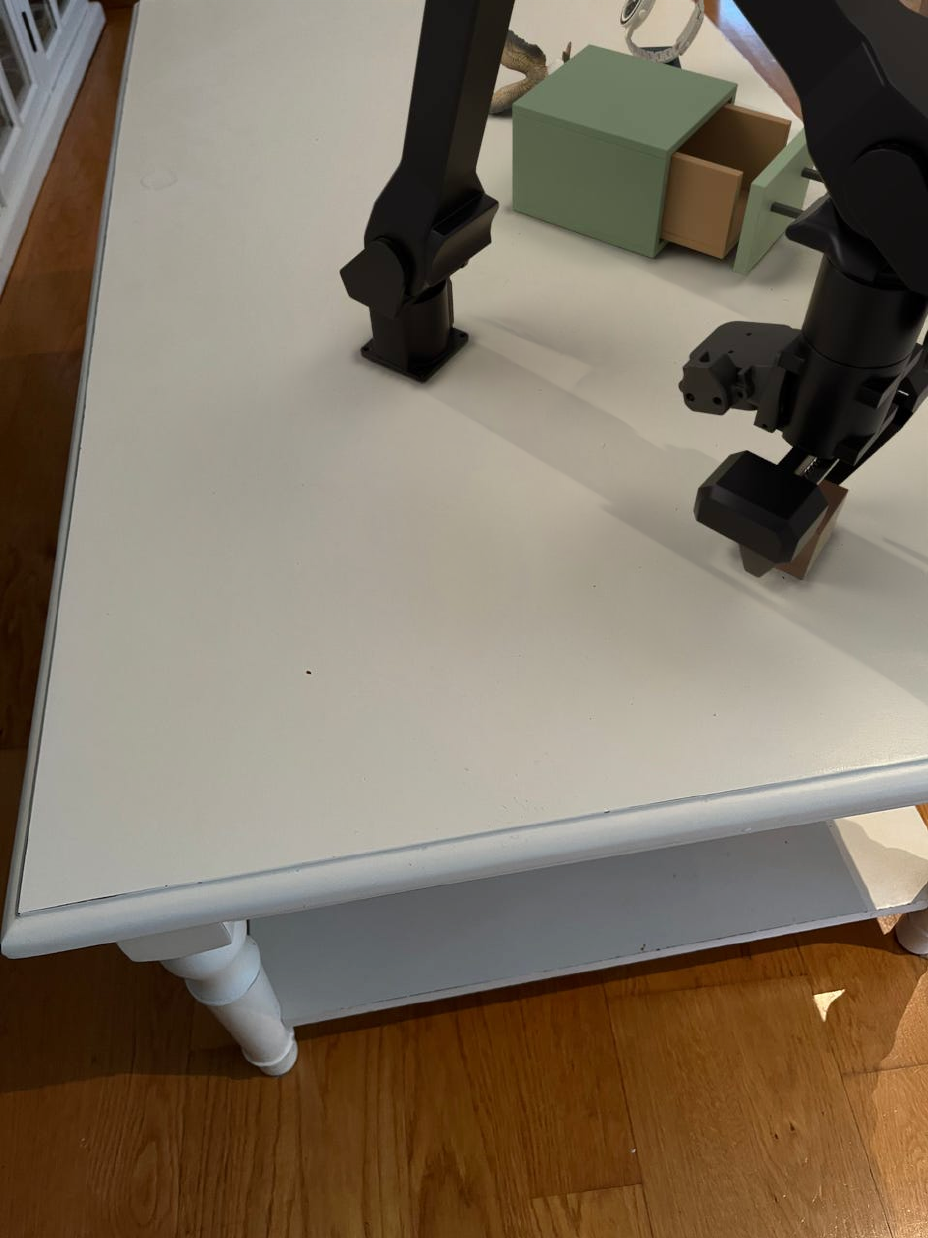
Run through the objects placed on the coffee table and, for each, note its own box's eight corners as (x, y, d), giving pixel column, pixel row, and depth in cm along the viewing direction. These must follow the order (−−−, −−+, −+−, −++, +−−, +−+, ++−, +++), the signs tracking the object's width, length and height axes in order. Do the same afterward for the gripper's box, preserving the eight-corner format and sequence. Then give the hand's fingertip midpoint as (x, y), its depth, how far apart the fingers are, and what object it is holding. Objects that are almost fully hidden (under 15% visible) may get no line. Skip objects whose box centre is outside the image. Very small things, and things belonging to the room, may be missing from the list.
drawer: (848, 224, 84) (876, 135, 78) (794, 292, 79) (819, 203, 72) (665, 168, 90) (677, 81, 84) (603, 227, 85) (611, 140, 79)
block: (802, 580, 63) (820, 534, 59) (738, 551, 64) (752, 504, 61) (830, 536, 65) (849, 489, 61) (767, 508, 66) (782, 461, 63)
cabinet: (718, 190, 89) (738, 83, 82) (653, 258, 84) (667, 150, 76) (582, 147, 95) (589, 43, 87) (511, 209, 89) (512, 103, 81)
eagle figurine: (562, 65, 102) (478, 53, 101) (580, 21, 95) (490, 7, 94) (558, 135, 102) (474, 124, 101) (575, 96, 95) (485, 83, 94)
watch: (612, 79, 103) (621, -39, 94) (688, 76, 102) (705, -42, 94) (616, 105, 99) (627, -15, 91) (695, 102, 99) (713, -18, 90)
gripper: (806, 202, 58) (753, 402, 71) (629, 364, 50) (605, 557, 63) (989, 269, 54) (897, 470, 66) (825, 458, 46) (757, 646, 58)
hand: (788, 529), depth 63 cm, fingers open, 9 cm apart
